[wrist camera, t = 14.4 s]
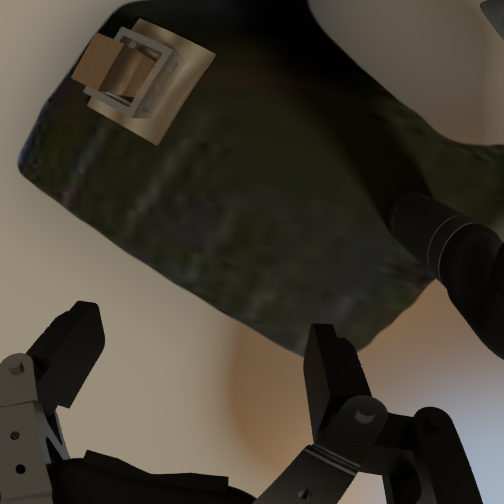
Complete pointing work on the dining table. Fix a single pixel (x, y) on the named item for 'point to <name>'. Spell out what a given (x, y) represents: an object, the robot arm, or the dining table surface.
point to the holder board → (178, 91)
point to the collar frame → (137, 105)
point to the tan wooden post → (113, 67)
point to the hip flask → (494, 14)
